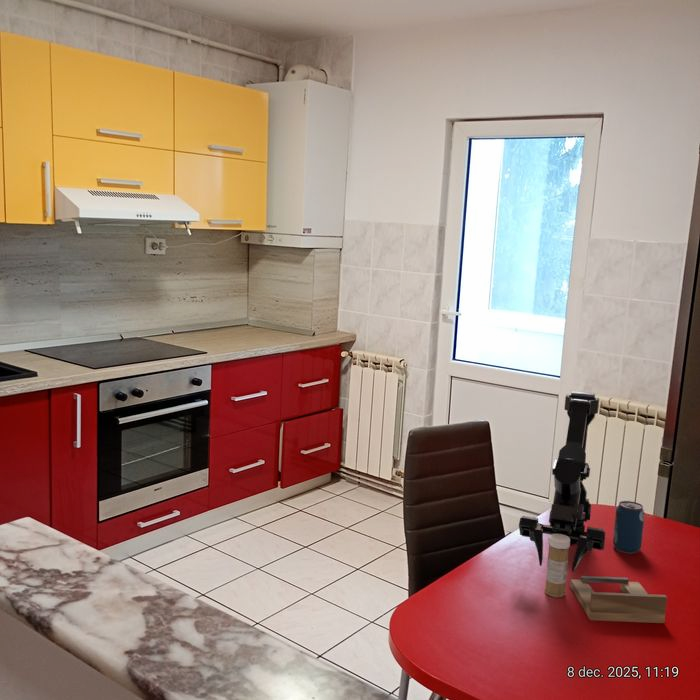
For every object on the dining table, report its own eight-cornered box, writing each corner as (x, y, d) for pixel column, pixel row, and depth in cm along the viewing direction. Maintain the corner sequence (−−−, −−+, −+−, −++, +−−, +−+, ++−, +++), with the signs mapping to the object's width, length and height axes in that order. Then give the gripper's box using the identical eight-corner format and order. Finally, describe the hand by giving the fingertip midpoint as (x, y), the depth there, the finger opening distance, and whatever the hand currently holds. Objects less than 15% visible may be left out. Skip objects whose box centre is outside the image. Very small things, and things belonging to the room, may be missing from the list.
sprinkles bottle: (552, 586, 173) (557, 531, 171) (569, 594, 169) (574, 537, 167) (540, 592, 170) (544, 535, 168) (557, 600, 167) (562, 542, 164)
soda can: (646, 551, 195) (651, 507, 193) (628, 556, 191) (633, 511, 189) (624, 541, 201) (628, 498, 199) (606, 546, 197) (610, 502, 195)
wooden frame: (570, 586, 173) (572, 562, 172) (637, 589, 173) (640, 565, 172) (590, 620, 159) (592, 594, 158) (664, 623, 159) (667, 597, 158)
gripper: (523, 482, 173) (511, 545, 165) (609, 495, 166) (601, 562, 158) (525, 503, 182) (514, 565, 173) (607, 517, 175) (600, 581, 166)
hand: (556, 568), depth 167 cm, fingers open, 7 cm apart
